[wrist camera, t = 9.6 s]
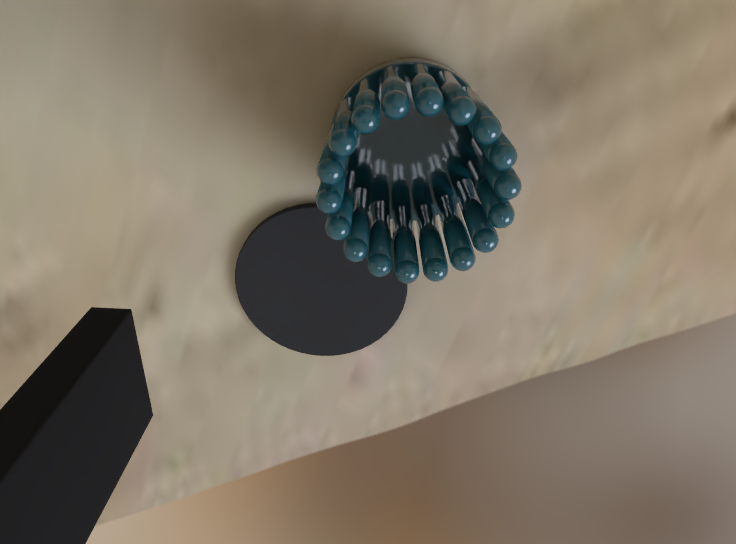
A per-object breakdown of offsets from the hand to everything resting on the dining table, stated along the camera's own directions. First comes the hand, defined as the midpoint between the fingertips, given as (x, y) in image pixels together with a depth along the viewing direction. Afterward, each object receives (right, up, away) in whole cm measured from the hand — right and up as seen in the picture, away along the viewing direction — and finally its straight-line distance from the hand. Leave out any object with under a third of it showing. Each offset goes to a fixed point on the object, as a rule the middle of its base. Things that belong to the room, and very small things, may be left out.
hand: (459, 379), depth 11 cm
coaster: (-5, +1, +23) cm, 23 cm away
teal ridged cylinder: (+4, +8, +14) cm, 17 cm away
